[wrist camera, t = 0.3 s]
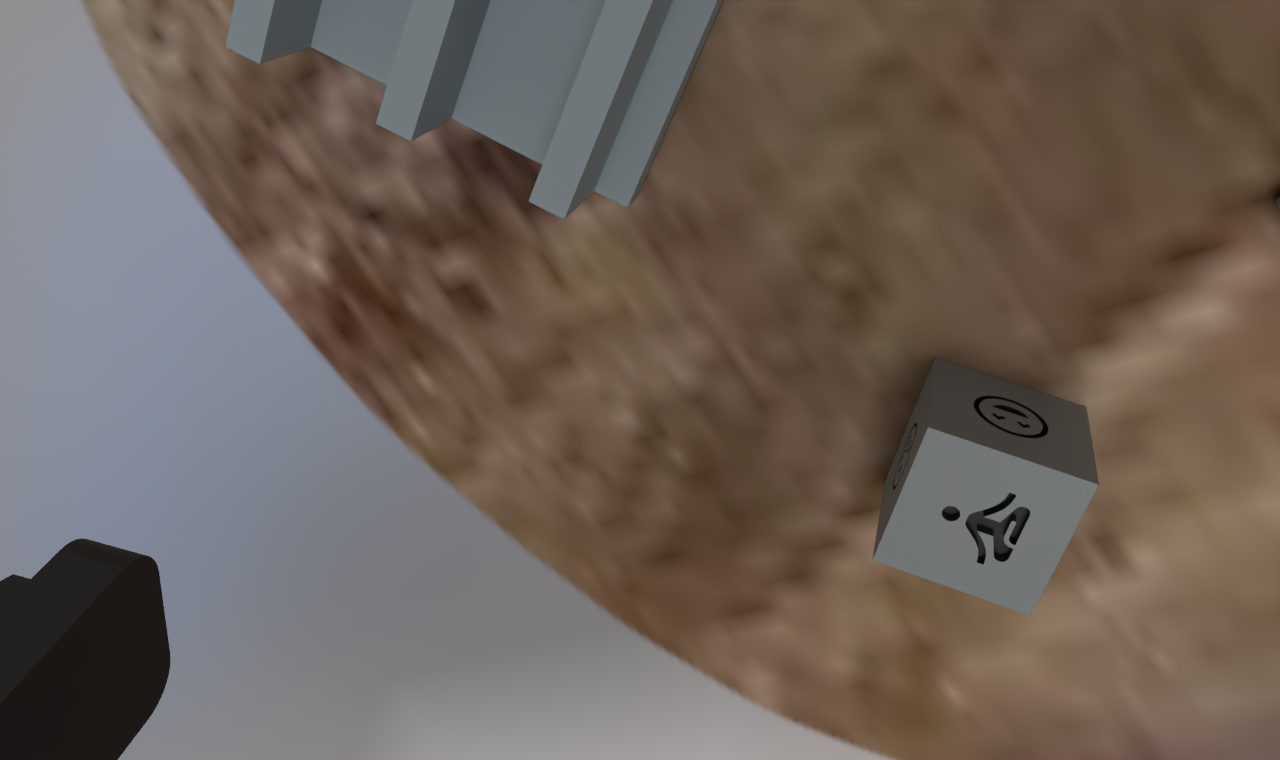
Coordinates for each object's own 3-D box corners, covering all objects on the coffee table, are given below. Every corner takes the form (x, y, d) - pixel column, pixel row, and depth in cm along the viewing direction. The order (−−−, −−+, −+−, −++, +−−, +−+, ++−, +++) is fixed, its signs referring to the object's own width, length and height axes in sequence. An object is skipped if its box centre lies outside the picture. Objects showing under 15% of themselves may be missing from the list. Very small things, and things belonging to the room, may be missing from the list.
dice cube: (1026, 527, 39) (1030, 615, 35) (885, 479, 40) (872, 560, 36) (1086, 406, 37) (1098, 484, 33) (935, 356, 38) (928, 427, 33)
